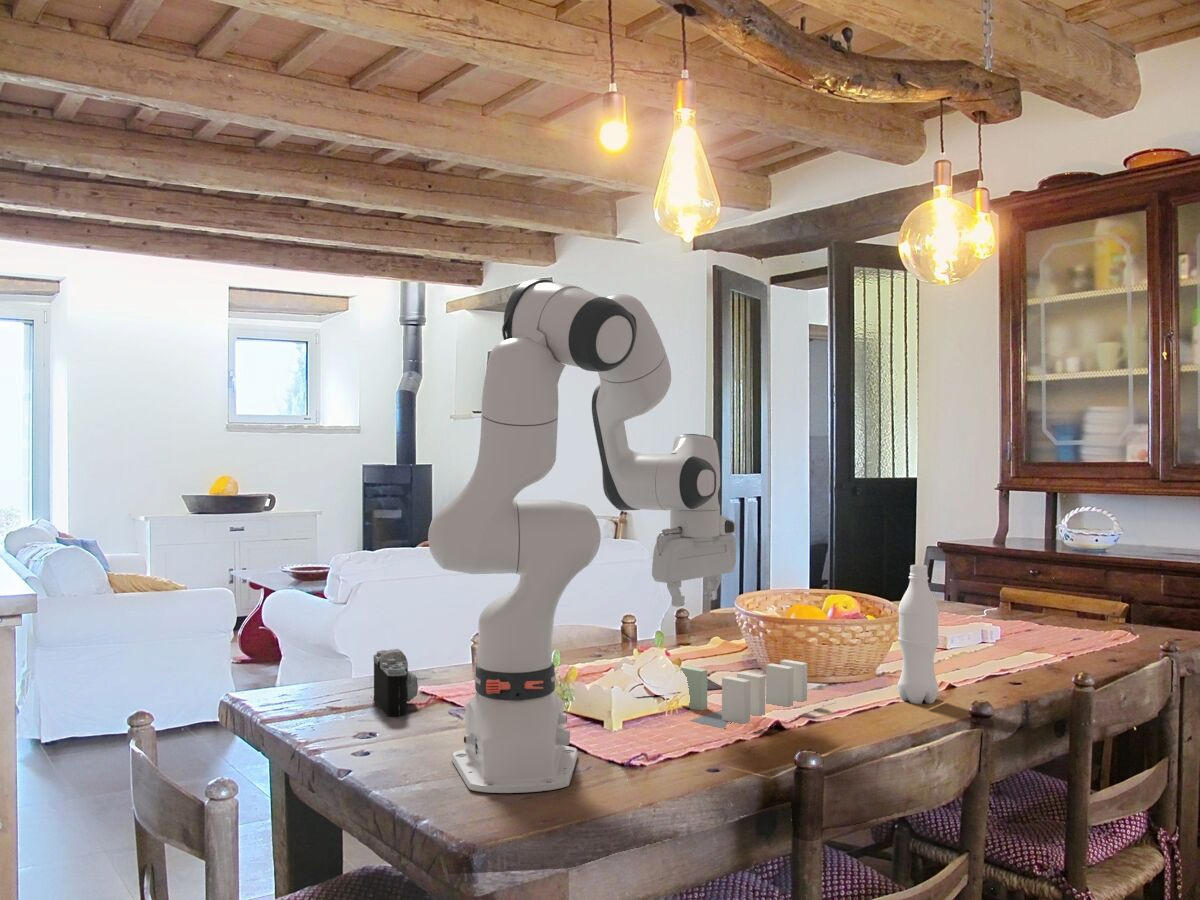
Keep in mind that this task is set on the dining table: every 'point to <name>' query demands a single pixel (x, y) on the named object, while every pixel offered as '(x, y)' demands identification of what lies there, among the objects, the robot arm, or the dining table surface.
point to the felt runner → (712, 720)
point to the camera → (393, 682)
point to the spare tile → (696, 687)
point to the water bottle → (918, 639)
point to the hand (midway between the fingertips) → (694, 602)
